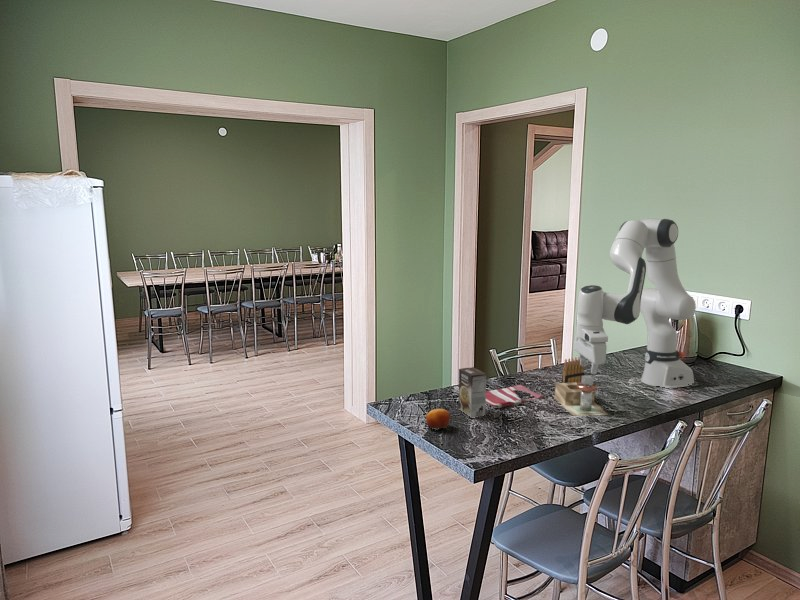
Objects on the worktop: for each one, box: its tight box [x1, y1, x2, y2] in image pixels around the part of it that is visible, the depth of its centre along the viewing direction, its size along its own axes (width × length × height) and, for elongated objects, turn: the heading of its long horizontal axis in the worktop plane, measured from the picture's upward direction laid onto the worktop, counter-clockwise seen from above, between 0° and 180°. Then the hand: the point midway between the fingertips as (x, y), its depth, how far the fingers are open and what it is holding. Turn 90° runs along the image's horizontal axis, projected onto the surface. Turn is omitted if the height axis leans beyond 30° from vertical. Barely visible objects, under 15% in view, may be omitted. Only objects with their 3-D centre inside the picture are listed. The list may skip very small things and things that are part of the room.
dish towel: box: [486, 384, 545, 409], centre depth 232 cm, size 17×23×3 cm
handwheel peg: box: [577, 375, 598, 411], centre depth 214 cm, size 7×7×12 cm
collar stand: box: [552, 382, 609, 417], centre depth 221 cm, size 13×22×6 cm, turn 5°
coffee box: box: [458, 367, 487, 417], centre depth 214 cm, size 9×6×16 cm
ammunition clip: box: [561, 356, 585, 383], centre depth 246 cm, size 11×2×12 cm, turn 117°
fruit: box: [425, 408, 451, 429], centre depth 202 cm, size 8×8×8 cm
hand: (588, 369), depth 213 cm, fingers open, 8 cm apart
